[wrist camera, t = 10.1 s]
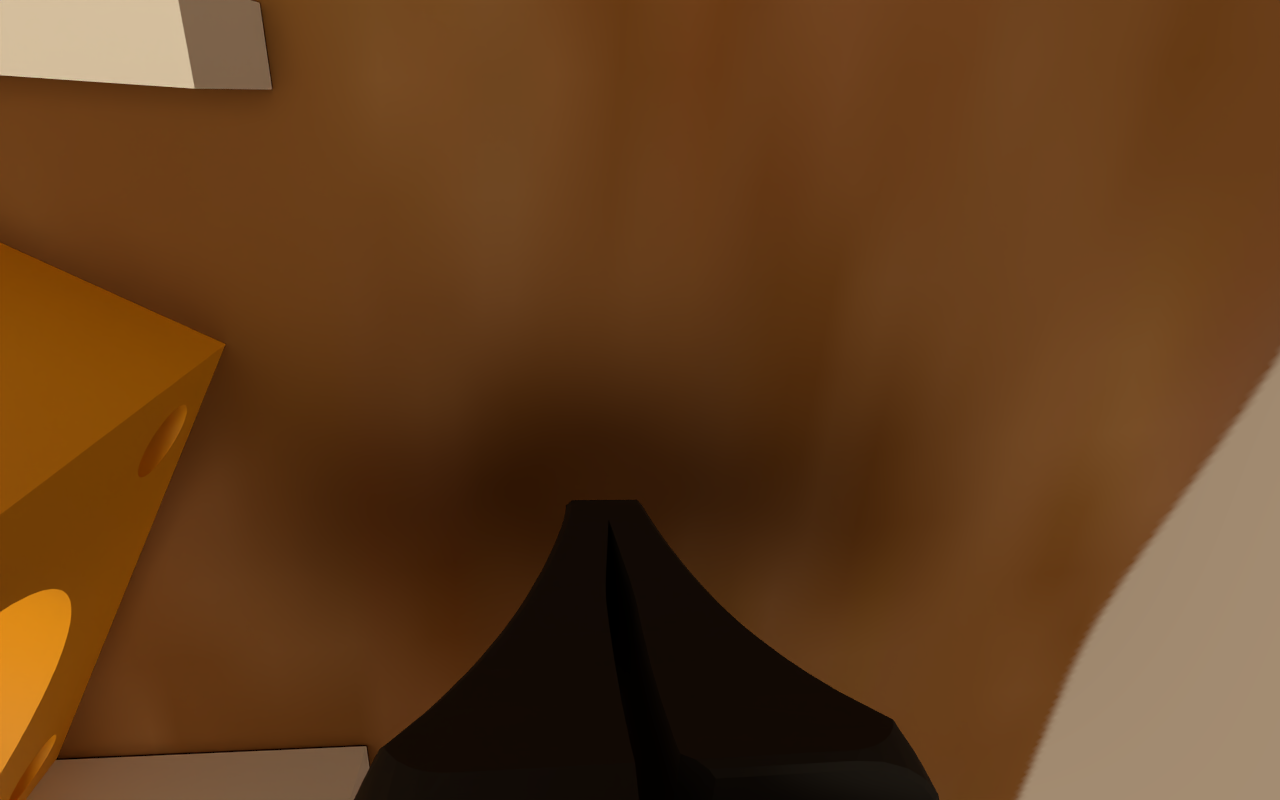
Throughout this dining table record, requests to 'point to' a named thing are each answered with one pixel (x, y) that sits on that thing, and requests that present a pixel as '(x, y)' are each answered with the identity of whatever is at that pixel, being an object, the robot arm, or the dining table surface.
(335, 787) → the bracket
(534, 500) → the dining table surface
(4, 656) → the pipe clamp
